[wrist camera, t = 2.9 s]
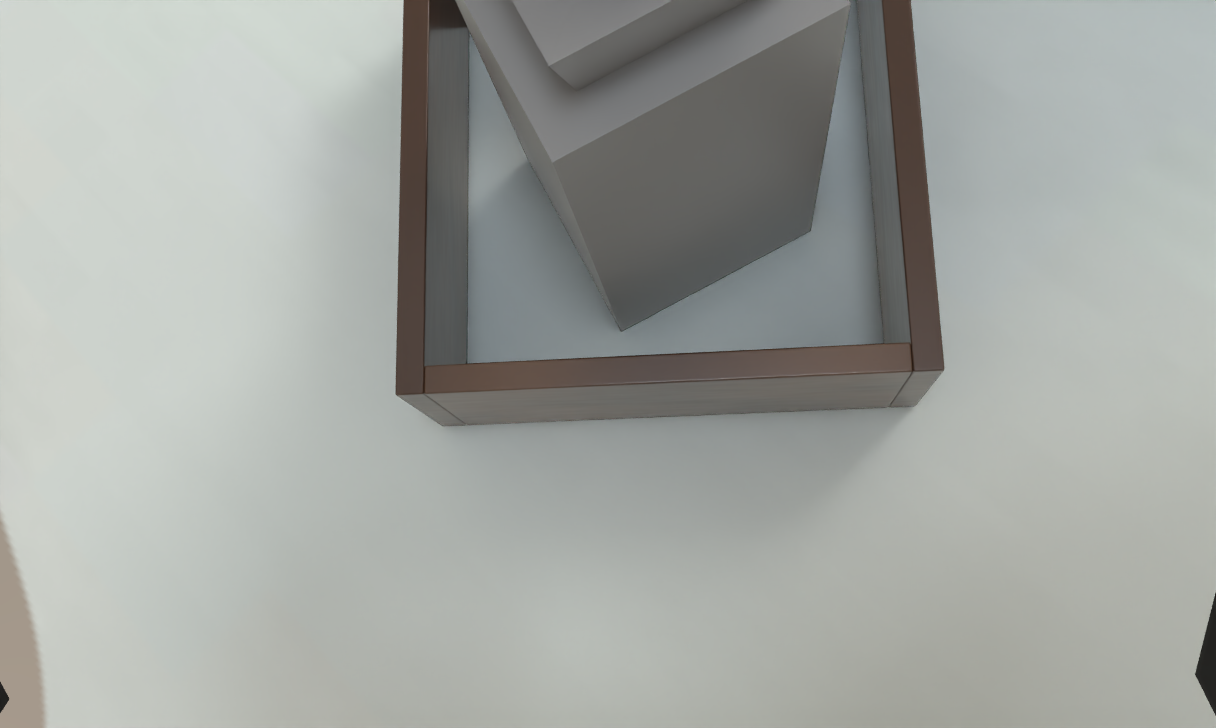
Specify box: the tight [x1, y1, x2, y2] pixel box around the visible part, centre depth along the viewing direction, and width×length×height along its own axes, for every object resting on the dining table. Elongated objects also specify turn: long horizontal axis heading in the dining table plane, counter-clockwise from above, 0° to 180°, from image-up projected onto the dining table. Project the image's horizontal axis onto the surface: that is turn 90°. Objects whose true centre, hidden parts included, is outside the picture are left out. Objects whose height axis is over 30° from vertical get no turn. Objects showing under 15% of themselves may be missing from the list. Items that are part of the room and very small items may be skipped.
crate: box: [396, 0, 944, 426], centre depth 34 cm, size 15×15×5 cm
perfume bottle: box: [455, 0, 851, 331], centre depth 28 cm, size 7×7×18 cm
